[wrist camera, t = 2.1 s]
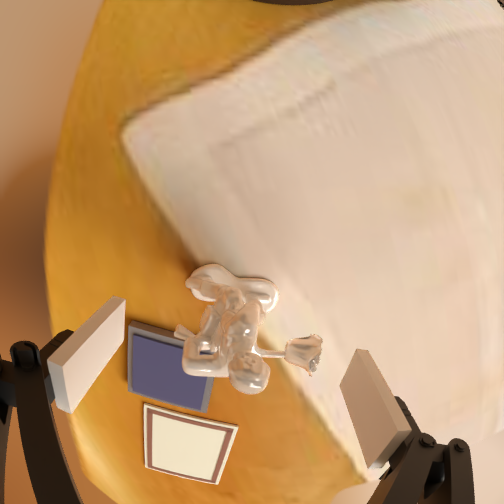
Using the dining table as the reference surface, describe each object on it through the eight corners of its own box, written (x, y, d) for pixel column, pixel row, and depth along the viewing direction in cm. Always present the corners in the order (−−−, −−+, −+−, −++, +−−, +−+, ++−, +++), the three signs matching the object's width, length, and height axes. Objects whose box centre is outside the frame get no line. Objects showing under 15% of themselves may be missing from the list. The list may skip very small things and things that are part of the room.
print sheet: (144, 402, 27) (143, 404, 26) (238, 425, 27) (238, 427, 27) (145, 465, 30) (145, 467, 30) (218, 483, 31) (217, 485, 30)
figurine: (189, 253, 22) (124, 334, 11) (311, 262, 22) (358, 353, 11) (189, 310, 24) (140, 415, 12) (302, 319, 24) (331, 431, 12)
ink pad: (132, 320, 24) (127, 327, 23) (221, 343, 24) (219, 352, 23) (131, 385, 26) (127, 393, 25) (207, 406, 26) (205, 415, 25)
